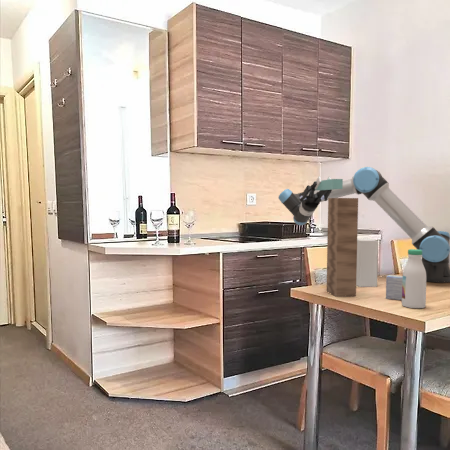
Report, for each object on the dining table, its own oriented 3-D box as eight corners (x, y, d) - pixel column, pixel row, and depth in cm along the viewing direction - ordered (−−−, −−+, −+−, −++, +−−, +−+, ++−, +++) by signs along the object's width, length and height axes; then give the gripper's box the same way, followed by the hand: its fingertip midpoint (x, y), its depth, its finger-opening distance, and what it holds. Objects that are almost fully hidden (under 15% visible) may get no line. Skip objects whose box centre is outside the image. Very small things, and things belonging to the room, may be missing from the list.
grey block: (349, 282, 197) (350, 238, 196) (366, 282, 198) (367, 238, 197) (359, 286, 187) (360, 240, 186) (377, 286, 188) (378, 240, 187)
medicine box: (409, 299, 164) (410, 276, 163) (407, 301, 160) (408, 278, 159) (388, 296, 168) (388, 274, 167) (385, 298, 164) (386, 276, 164)
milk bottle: (429, 306, 152) (431, 250, 151) (418, 310, 147) (420, 251, 146) (408, 302, 158) (410, 248, 157) (397, 305, 153) (398, 249, 152)
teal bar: (314, 190, 198) (314, 181, 198) (322, 190, 199) (322, 181, 199) (333, 188, 176) (333, 178, 176) (342, 188, 177) (342, 179, 177)
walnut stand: (326, 291, 177) (328, 198, 175) (345, 291, 178) (347, 198, 176) (336, 296, 167) (338, 197, 165) (355, 296, 168) (358, 198, 166)
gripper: (326, 212, 210) (345, 186, 190) (293, 212, 208) (307, 186, 187) (324, 198, 214) (341, 172, 193) (290, 198, 211) (305, 171, 191)
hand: (325, 179), depth 190 cm, fingers closed on teal bar, 4 cm apart
